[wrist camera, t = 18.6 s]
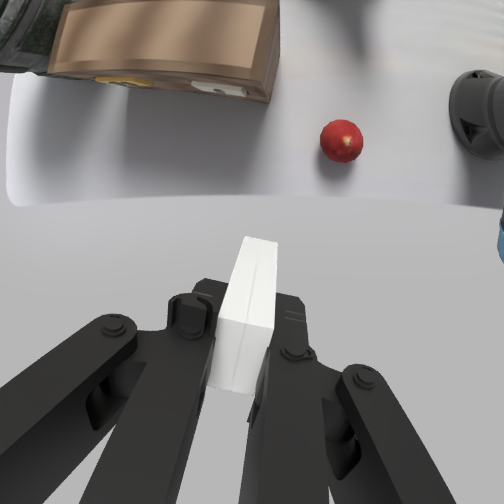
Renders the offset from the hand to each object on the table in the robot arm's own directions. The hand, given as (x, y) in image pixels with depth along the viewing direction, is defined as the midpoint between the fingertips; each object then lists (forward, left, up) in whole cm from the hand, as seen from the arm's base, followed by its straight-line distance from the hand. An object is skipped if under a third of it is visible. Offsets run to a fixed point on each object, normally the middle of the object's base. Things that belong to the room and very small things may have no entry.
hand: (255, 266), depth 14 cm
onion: (-8, -7, -33) cm, 34 cm away
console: (+13, -14, -32) cm, 38 cm away
